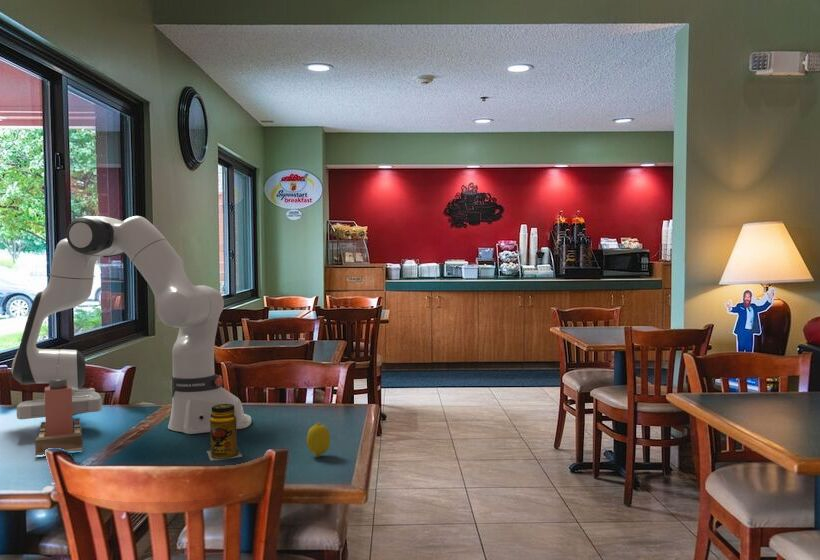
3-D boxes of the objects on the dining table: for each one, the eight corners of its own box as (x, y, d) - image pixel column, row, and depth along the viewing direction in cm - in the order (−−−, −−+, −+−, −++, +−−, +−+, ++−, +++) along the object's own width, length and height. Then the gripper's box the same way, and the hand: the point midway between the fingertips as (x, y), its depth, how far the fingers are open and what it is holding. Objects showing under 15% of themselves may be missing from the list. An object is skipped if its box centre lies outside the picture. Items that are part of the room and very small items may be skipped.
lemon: (307, 453, 163) (307, 420, 163) (331, 452, 164) (330, 419, 163) (306, 460, 158) (305, 426, 157) (330, 459, 158) (329, 425, 158)
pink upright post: (47, 437, 175) (45, 379, 174) (73, 434, 177) (71, 377, 177) (46, 442, 170) (44, 382, 170) (73, 439, 173) (71, 380, 172)
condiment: (210, 461, 158) (209, 410, 157) (206, 451, 166) (205, 402, 165) (242, 457, 161) (241, 407, 160) (237, 448, 169) (236, 400, 168)
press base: (40, 434, 183) (39, 418, 183) (81, 429, 188) (80, 414, 187) (35, 458, 162) (35, 440, 162) (82, 452, 166) (81, 435, 166)
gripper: (17, 394, 184) (12, 405, 171) (100, 387, 193) (102, 396, 180) (17, 418, 184) (13, 429, 171) (101, 409, 193) (103, 420, 180)
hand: (59, 412), depth 176 cm, fingers closed, pressing on pink upright post
